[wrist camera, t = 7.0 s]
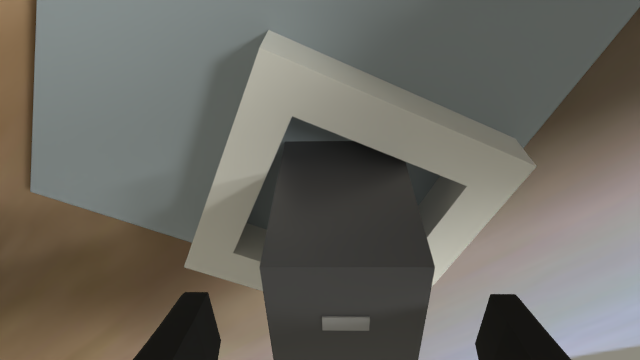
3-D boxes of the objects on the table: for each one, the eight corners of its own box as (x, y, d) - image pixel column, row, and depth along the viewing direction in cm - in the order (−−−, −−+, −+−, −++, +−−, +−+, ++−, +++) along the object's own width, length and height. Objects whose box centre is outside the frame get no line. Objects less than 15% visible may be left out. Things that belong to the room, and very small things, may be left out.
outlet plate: (669, -57, 11) (747, -48, 9) (391, 292, 20) (398, 340, 18) (74, -423, 8) (-17, -538, 6) (42, 180, 17) (-2, 221, 14)
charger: (399, 140, 14) (435, 268, 9) (391, 228, 16) (416, 369, 11) (284, 141, 14) (259, 268, 9) (292, 228, 17) (274, 368, 12)
